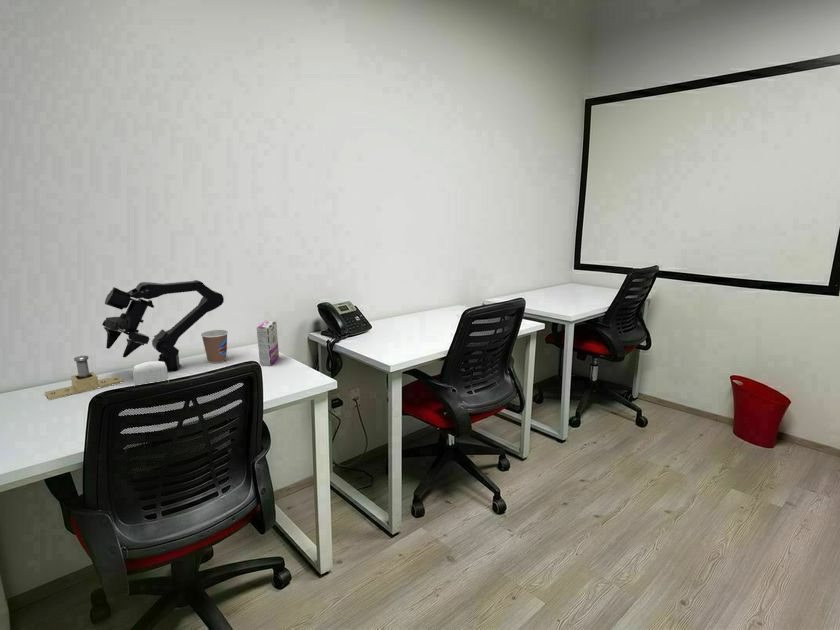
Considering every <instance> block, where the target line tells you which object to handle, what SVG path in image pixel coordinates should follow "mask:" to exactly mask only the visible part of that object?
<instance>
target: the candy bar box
mask: <svg viewBox="0 0 840 630" xmlns="http://www.w3.org/2000/svg"><path fill="white" fill-rule="evenodd" d="M277 327H278V326H277V320H265V321H264V322H262V323H261V324H260V325H259V326H257V327H256V336H257V345H258V357H259V365H260V364H261V365H263V366H262V367H264V365H271V366H273V364H275V362H276V361H277V360H278V359H279V358H280V353H279V341H278V329H277Z"/></svg>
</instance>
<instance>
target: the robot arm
mask: <svg viewBox="0 0 840 630" xmlns="http://www.w3.org/2000/svg"><path fill="white" fill-rule="evenodd" d="M189 292H197V293H198V294H199V295H201V296H202V297H201V299H200V301H199V302H198V305H196V306H195V307H194V308H193V309H192V310H191V311H190V312H188V313H187V314H186V315H184V316H183V317H182V319H181V320H179V321H178V322H177V323H176V324H175V325H173V326H172V327H171V328H169V329H168V330H164V329H163V328H162V329H160V331H159V332H158V333H157V334H155V335H153V337H154V338H153V339H152V341H151V345H152V347H153V348H154V350H156V351H157V352H158V353H159V355H158V359H157V361H162V362H165V365H166V367H167V372H176V371H178V370H179V369H180V368H181V366H182V364H180V356H179V352H180V349H178V348H177V347H175V345H176V344H177V342H178V340H179V339H180V337H181V336H182V335H184V333H186V332H187V331H188V330H189V329H190V328H191V327H192V326H193V325H195V324H196V323H197V322H198V321H199V320H200V319H201V318H203V316H205V315H206V314H208V313H209V312H212V311H214V310H215V309H218V308H219V307H220V306H222V305H223V303H224V302H225V300H224V299H225V298H224V295H222V294H221V293H220V292H217V291H216V290H212V288H210V287H208V286H207V285H206V284H204V283H203V282H202V281H200V280H199V279H198V280H197V279H196V280H195V279H194V280H190V281H179V282H178V281H177V282H176V281H175V282H168V283H167V282H166V283H158V282H149V281H142V282H140V283H138V284H137V285H136V287H135V288H133V289H130V290H129V291H124V290H121V289H119V288H117V287H115V286H113V287H112V290H110V291H109V293H108V294H107V295H106V298H105V301H104V305H106V306H110V307H112V308H116V309H118V310H120V311H121V310H123V309H126V312H122V313H121V314H120V315H119V316H110V317H106V318H105V319H104V320H103V322H102V324H101V325H102V326H103V329H104V330H105V332H106V335H107V336H106V347H105V348H106V349H109V350H110V349H111V348H112V346H113V345H114V344H115V343H116V341H117V340H118V338H119V337H120V336H121V335H122V333H123V334H125V335H127V336H128V338H126V342H127V343H126V344H127V345H126V346H125V349H124V351H123V353H122V357H123V358H127V357H129V356H130V354H132V353H133V352H134V351H135V350H137V349H138V348H140V347H141V346H145V345H148V344H149V342H150V336H148V335H146V334H144V333H141V332H140V330H139V329H138V328H139V326H140V323H141V324H143V323H144V322H145V321H144V319H143V317H144V315H145V313H146V311H147V310H148V307H149V308H153V309H154V308H155V305H154V304H153V301H152V299H154V298H158V297H161V296H164V295H168V294H169V295H170V294H179V293H180V294H181V293H189Z"/></svg>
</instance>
